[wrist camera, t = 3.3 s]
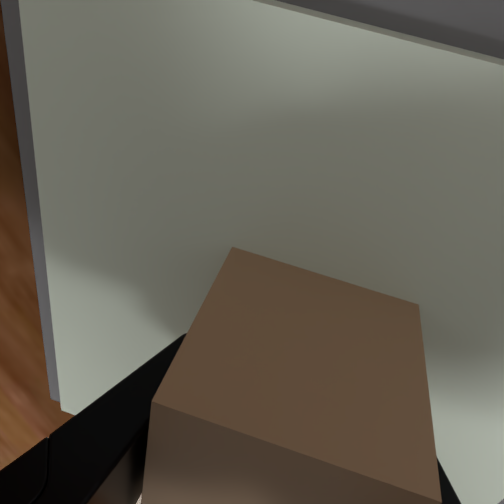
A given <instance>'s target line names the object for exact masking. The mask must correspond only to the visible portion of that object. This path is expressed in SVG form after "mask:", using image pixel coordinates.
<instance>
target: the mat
mask: <svg viewBox="0 0 504 504" xmlns="http://www.w3.org/2000/svg"><path fill="white" fill-rule="evenodd" d="M276 1H280V2H284V3H288V4H292V5H296V6H299V7H303V8H307V9H311V10H315V11H319V12H323V13H326V14H330V15H334V16H338V17H342V18H346V19H350V20H353V21H357V22H361V23H365V24H369V25H373V26H377V27H381V28H384V29H388V30H392V31H396V32H400V33H404V34H408V35H411V36H415V37H419V38H423V39H427V40H431V41H435V42H438V43H442V44H446V45H450V46H454V47H458V48H462V49H465V50H469V51H473V52H477V53H481V54H485V55H489V56H493V57H496V58H500V59H504V0H276ZM1 7H2V15H3V23H4V31H5V39H6V47H7V55H8V63H9V71H10V79H11V87H12V95H13V103H14V111H15V119H16V127H17V135H18V143H19V151H20V158H21V166H22V174H23V182H24V190H25V198H26V206H27V214H28V222H29V230H30V238H31V246H32V254H33V262H34V270H35V278H36V286H37V294H38V302H39V310H40V318H41V326H42V334H43V342H44V349H45V357H46V365H47V373H48V381H49V389H50V397H51V399H53V400H56V401H58V402H60V393H59V383H58V374H57V364H56V355H55V345H54V336H53V326H52V316H51V307H50V297H49V288H48V278H47V269H46V259H45V250H44V240H43V230H42V221H41V211H40V202H39V192H38V183H37V173H36V163H35V154H34V144H33V135H32V125H31V116H30V106H29V97H28V87H27V77H26V68H25V58H24V49H23V39H22V30H21V20H20V10H19V1H18V0H1ZM498 504H504V499H503V500H501V501H500V502H499V503H498Z"/></svg>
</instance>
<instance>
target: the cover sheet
mask: <svg viewBox="0 0 504 504" xmlns="http://www.w3.org/2000/svg"><path fill="white" fill-rule="evenodd" d="M18 1H19V10H20V20H21V30H22V39H23V49H24V58H25V68H26V77H27V87H28V97H29V106H30V116H31V125H32V135H33V144H34V154H35V163H36V173H37V183H38V192H39V202H40V211H41V221H42V230H43V240H44V250H45V259H46V269H47V278H48V288H49V297H50V307H51V316H52V326H53V336H54V345H55V355H56V364H57V374H58V383H59V393H60V403H61V410H62V411H65V412H68V413H71V414H73V415H76V414H78V413H79V412H80V411H82V410H83V409H84V408H86V407H87V406H88V405H90V404H91V403H92V402H94V401H95V400H96V399H98V398H99V397H100V396H102V395H103V394H104V393H106V392H107V391H108V390H110V389H111V388H112V387H114V386H115V385H116V384H118V383H119V382H120V381H122V380H123V379H124V378H126V377H127V376H128V375H129V374H131V373H132V372H133V371H135V370H136V369H137V368H139V367H140V366H141V365H143V364H144V363H145V362H147V361H148V360H149V359H151V358H152V357H153V356H155V355H156V354H157V353H159V352H160V351H161V350H163V349H164V348H165V347H167V346H168V345H169V344H171V343H172V342H173V341H175V340H176V339H177V338H179V337H180V336H181V335H183V334H185V333H187V334H186V336H185V338H184V340H183V342H182V344H181V346H180V348H179V350H178V352H177V353H176V355H175V357H174V359H173V361H172V363H171V365H170V367H169V369H168V371H167V373H166V375H165V376H164V378H163V380H162V382H161V384H160V386H159V388H158V390H157V392H156V394H155V396H154V398H153V399H152V402H151V411H150V421H149V431H148V441H147V451H146V460H145V470H144V480H143V490H142V499H141V504H441V503H442V499H441V491H440V482H439V473H438V465H437V458H438V460H439V462H440V464H441V466H442V467H443V469H444V471H445V473H446V475H447V477H448V479H449V481H450V483H451V485H452V487H453V488H454V490H455V492H456V494H457V496H458V498H459V500H460V502H461V504H498V503H499V502H500V501H501V500H503V499H504V59H500V58H496V57H493V56H489V55H485V54H481V53H477V52H473V51H469V50H465V49H462V48H458V47H454V46H450V45H446V44H442V43H438V42H435V41H431V40H427V39H423V38H419V37H415V36H411V35H408V34H404V33H400V32H396V31H392V30H388V29H384V28H381V27H377V26H373V25H369V24H365V23H361V22H357V21H353V20H350V19H346V18H342V17H338V16H334V15H330V14H326V13H323V12H319V11H315V10H311V9H307V8H303V7H299V6H296V5H292V4H288V3H284V2H280V1H276V0H18Z"/></svg>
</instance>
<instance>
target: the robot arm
mask: <svg viewBox="0 0 504 504" xmlns="http://www.w3.org/2000/svg"><path fill="white" fill-rule="evenodd" d="M186 334H187V333H185V334H183V335H181V336H180V337H179V338H177V339H176V340H175V341H173V342H172V343H171V344H169V345H168V346H167V347H165V348H164V349H163V350H161V351H160V352H159V353H157V354H156V355H155V356H153V357H152V358H151V359H149V360H148V361H147V362H145V363H144V364H143V365H141V366H140V367H139V368H137V369H136V370H135V371H133V372H132V373H131V374H129V375H128V376H127V377H126V378H124V379H123V380H122V381H120V382H119V383H118V384H116V385H115V386H114V387H112V388H111V389H110V390H108V391H107V392H106V393H104V394H103V395H102V396H100V397H99V398H98V399H96V400H95V401H94V402H92V403H91V404H90V405H88V406H87V407H86V408H84V409H83V410H82V411H80V412H79V413H78V414H76V415H75V416H74V417H72V418H71V419H70V420H68V421H67V422H66V423H64V424H63V425H62V426H60V427H59V428H58V429H56V430H55V431H54V432H52V433H51V434H50V435H49V438H47V437H46V438H44V439H43V440H42V441H40V442H39V443H38V444H36V445H35V446H34V447H32V448H31V449H30V450H28V451H27V452H26V453H24V454H23V455H21V456H20V457H19V458H17V459H16V460H14V461H13V462H12V463H10V464H9V465H7V466H6V467H5V468H3V469H2V470H0V504H136V502H137V500H138V499H139V497H140V495H141V493H142V490H143V480H144V470H145V460H146V451H147V441H148V431H149V421H150V411H151V402H152V399H153V398H154V396H155V394H156V392H157V390H158V388H159V386H160V384H161V382H162V380H163V378H164V376H165V375H166V373H167V371H168V369H169V367H170V365H171V363H172V361H173V359H174V357H175V355H176V353H177V352H178V350H179V348H180V346H181V344H182V342H183V340H184V338H185V336H186ZM437 465H438V473H439V482H440V491H441V499H442V503H441V504H461V502H460V500H459V498H458V496H457V494H456V492H455V490H454V488H453V487H452V485H451V483H450V481H449V479H448V477H447V475H446V473H445V471H444V469H443V467H442V466H441V464H440V462H439V460H438V458H437Z"/></svg>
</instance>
